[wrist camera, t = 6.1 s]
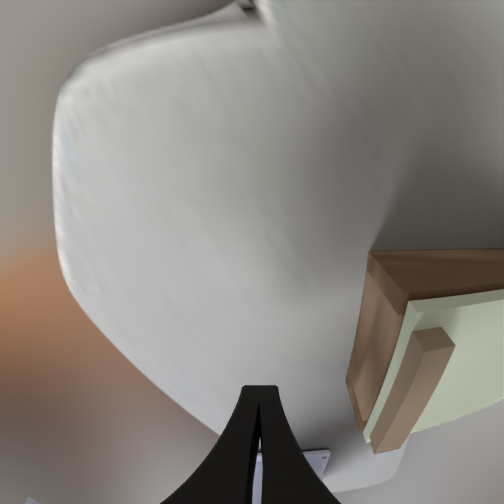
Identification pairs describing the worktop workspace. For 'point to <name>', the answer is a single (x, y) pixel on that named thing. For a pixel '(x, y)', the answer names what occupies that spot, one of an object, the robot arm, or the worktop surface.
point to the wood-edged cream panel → (440, 367)
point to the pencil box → (395, 304)
